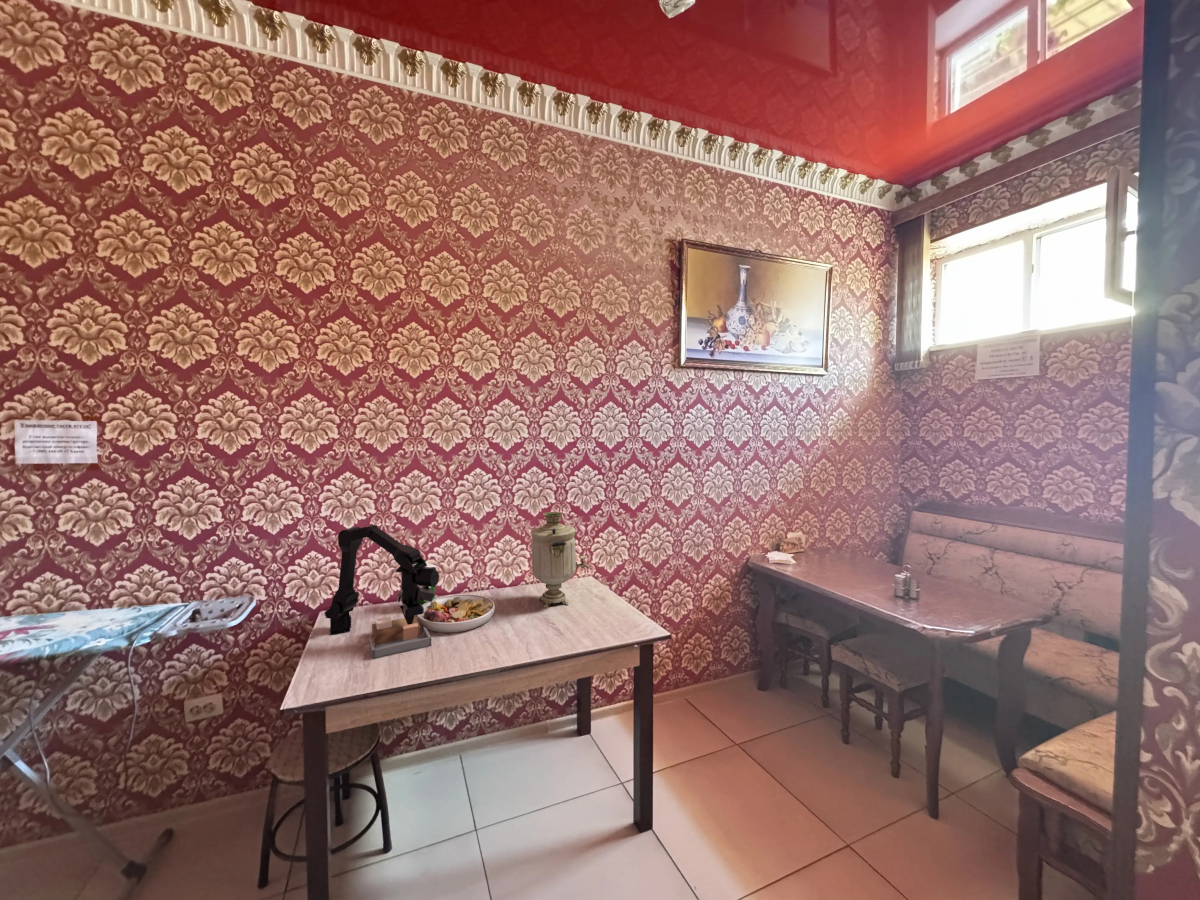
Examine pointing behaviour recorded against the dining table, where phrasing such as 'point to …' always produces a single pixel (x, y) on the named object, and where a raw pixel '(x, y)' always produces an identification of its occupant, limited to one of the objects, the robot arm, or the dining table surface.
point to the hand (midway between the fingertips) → (410, 626)
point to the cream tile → (383, 623)
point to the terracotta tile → (410, 631)
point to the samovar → (554, 556)
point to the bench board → (391, 631)
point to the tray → (399, 645)
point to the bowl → (456, 613)
